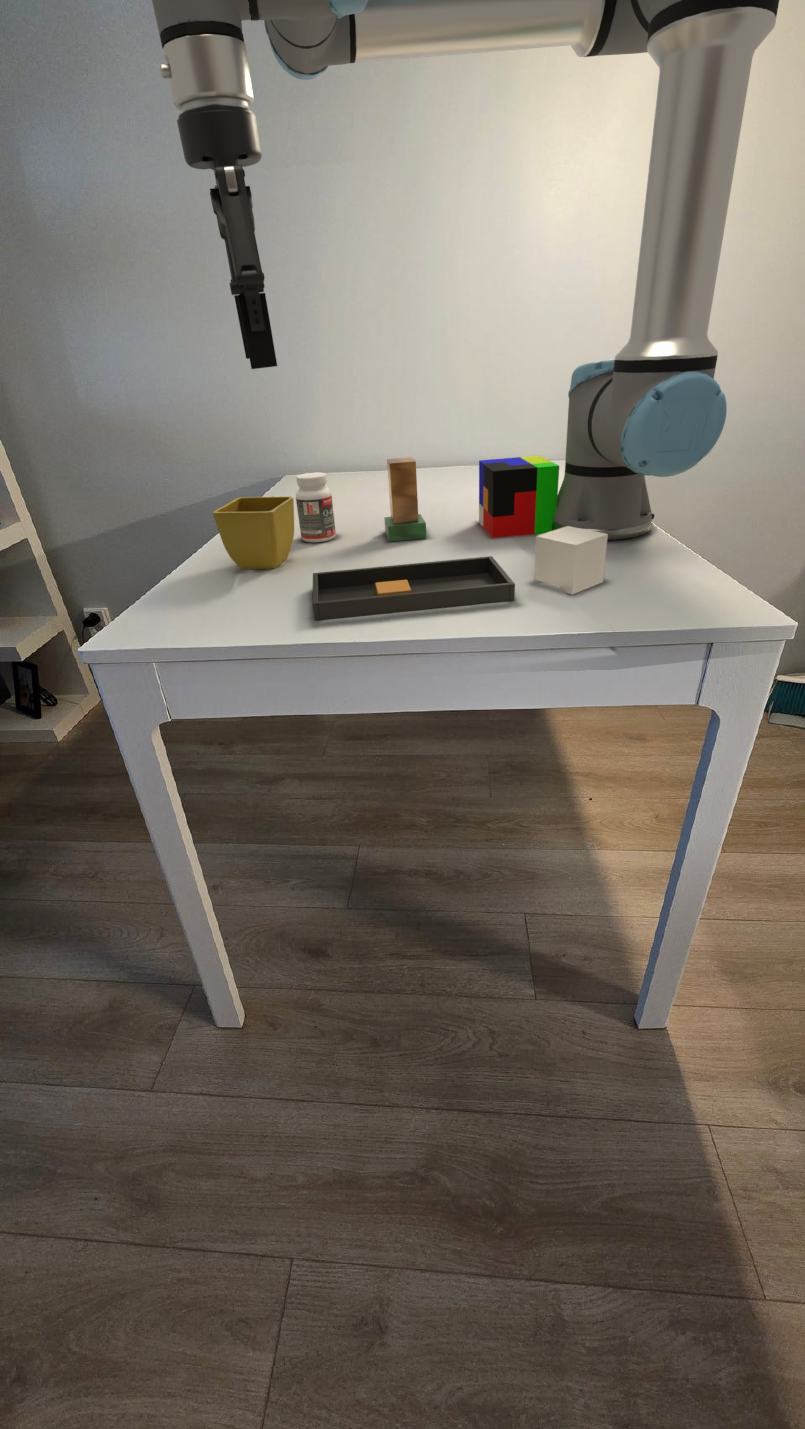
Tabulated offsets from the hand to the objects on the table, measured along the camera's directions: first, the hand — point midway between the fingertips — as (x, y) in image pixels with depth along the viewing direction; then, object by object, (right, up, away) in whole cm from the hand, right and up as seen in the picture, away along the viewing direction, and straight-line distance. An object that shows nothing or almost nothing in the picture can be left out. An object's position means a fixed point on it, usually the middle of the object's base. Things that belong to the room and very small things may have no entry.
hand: (260, 362), depth 73 cm
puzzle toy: (+35, -10, +31) cm, 48 cm away
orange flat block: (+15, -26, +5) cm, 30 cm away
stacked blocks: (+17, -11, +31) cm, 37 cm away
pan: (+17, -26, +5) cm, 32 cm away
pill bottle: (+3, -11, +32) cm, 34 cm away
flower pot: (-4, -19, +21) cm, 28 cm away
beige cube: (+37, -24, +7) cm, 45 cm away
